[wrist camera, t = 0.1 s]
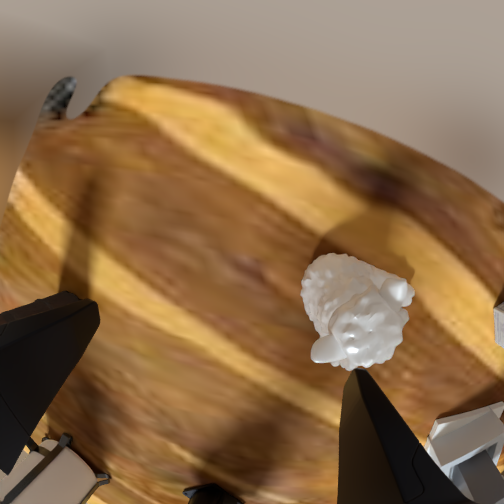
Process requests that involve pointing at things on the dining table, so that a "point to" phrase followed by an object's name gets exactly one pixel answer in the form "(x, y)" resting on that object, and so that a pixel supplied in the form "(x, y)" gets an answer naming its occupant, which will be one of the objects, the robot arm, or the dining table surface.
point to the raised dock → (468, 442)
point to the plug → (479, 479)
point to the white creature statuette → (354, 310)
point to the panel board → (460, 421)
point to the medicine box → (499, 324)
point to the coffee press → (50, 476)
